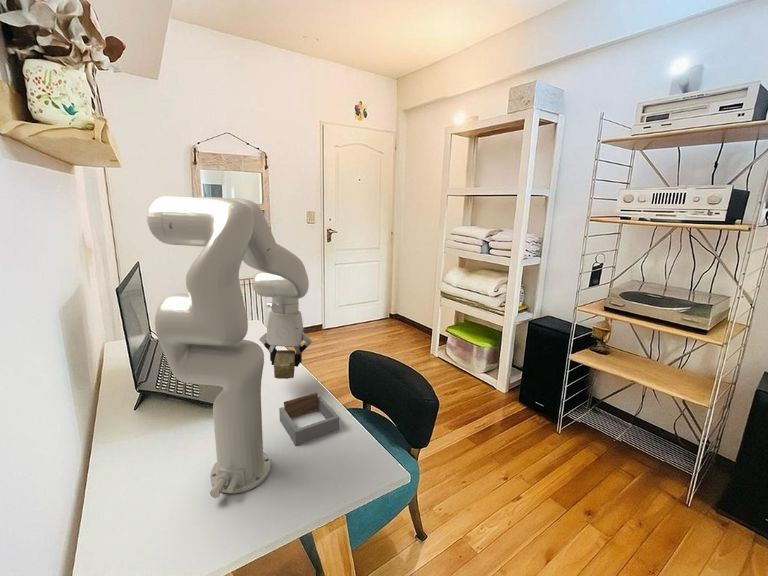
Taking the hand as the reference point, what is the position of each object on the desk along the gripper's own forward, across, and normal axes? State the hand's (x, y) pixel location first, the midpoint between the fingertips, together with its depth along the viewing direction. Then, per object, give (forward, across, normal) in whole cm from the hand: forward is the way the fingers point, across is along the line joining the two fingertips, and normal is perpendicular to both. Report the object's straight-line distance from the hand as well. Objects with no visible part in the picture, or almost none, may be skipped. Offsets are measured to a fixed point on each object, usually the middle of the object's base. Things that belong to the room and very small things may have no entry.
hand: (286, 363), depth 109 cm
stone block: (+1, +1, -4) cm, 4 cm away
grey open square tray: (+11, +11, -14) cm, 21 cm away
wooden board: (+11, +7, -9) cm, 16 cm away
